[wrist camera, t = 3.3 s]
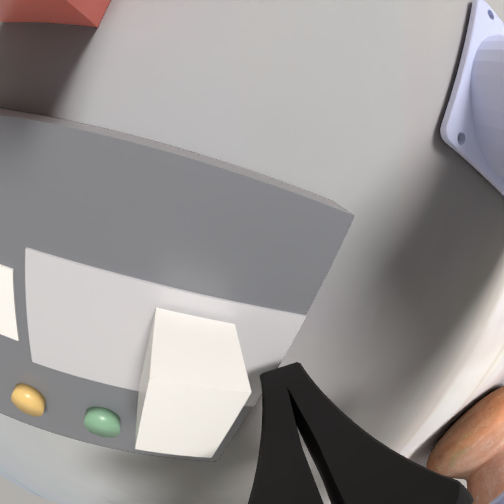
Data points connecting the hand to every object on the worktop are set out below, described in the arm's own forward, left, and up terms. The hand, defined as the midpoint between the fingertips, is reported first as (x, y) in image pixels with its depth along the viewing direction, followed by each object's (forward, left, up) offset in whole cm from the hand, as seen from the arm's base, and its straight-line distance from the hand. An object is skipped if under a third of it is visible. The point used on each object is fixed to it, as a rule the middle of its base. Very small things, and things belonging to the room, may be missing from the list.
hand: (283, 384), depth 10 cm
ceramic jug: (-30, +10, -3) cm, 32 cm away
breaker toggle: (+3, 0, -1) cm, 4 cm away
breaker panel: (+6, +1, -2) cm, 7 cm away
